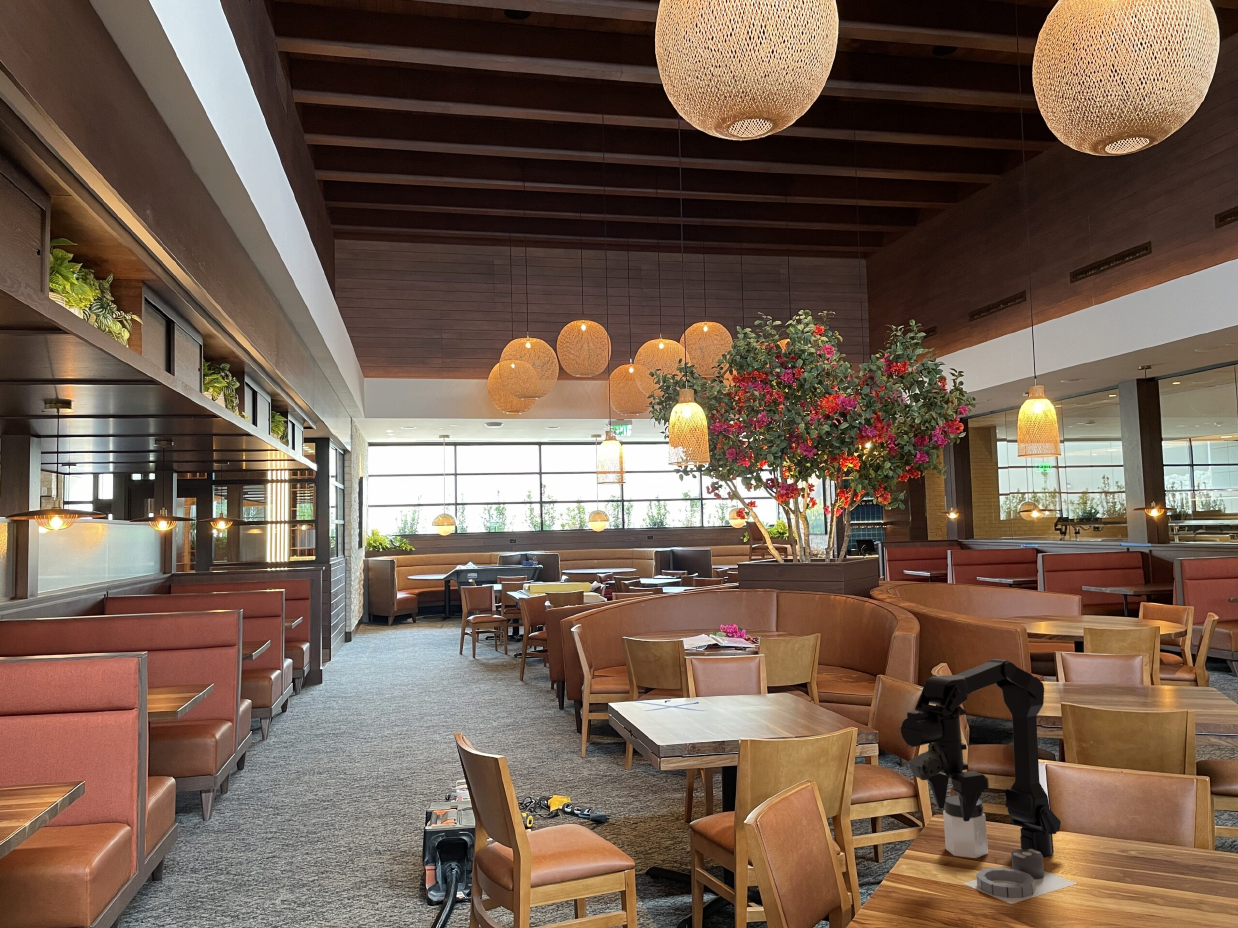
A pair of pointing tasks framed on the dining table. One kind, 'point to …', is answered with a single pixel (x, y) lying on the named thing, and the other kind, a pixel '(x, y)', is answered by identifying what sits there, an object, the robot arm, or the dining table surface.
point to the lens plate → (1039, 886)
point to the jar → (964, 830)
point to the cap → (1028, 862)
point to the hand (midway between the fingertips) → (953, 814)
